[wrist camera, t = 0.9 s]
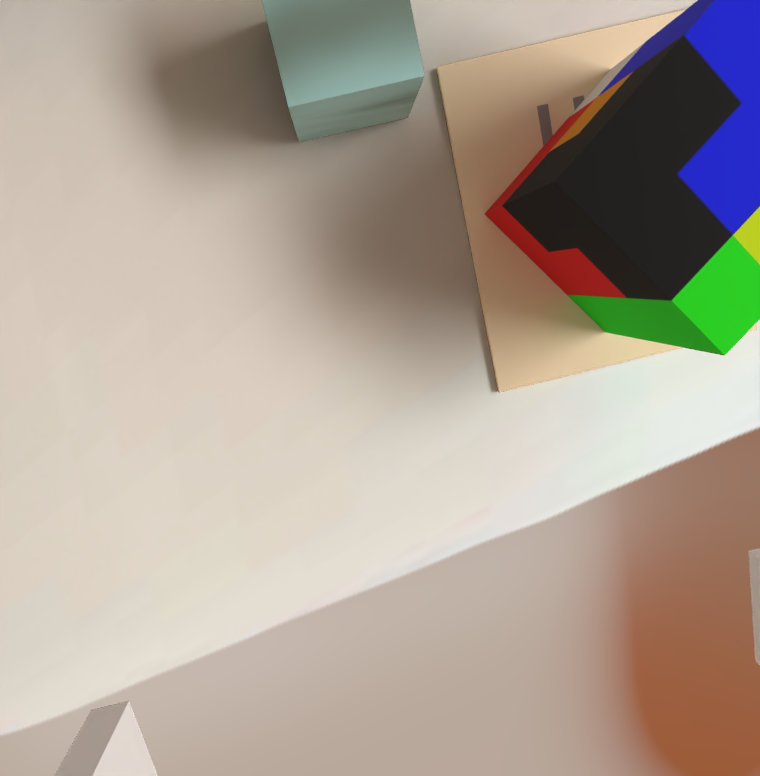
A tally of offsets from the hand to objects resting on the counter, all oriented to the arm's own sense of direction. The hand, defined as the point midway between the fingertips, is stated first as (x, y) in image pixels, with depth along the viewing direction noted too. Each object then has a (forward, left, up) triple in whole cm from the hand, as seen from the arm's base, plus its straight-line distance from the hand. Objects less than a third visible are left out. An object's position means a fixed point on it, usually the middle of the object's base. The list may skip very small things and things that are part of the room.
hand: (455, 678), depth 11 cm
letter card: (-9, +15, -21) cm, 28 cm away
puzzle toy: (-9, +15, -21) cm, 27 cm away
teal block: (-19, +2, -21) cm, 29 cm away
